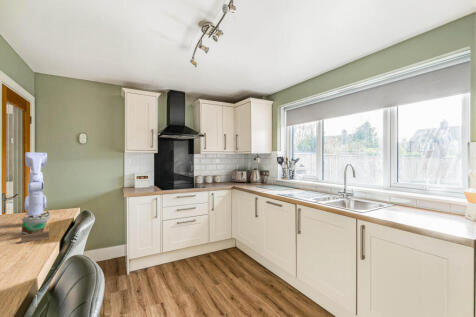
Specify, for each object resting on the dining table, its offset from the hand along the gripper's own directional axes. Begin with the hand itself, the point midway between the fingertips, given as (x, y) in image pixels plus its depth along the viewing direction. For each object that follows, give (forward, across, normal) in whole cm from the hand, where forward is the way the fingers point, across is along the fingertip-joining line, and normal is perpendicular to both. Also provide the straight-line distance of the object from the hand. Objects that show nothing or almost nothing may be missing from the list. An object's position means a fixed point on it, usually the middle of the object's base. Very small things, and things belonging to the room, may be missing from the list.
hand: (35, 228), depth 122 cm
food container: (+2, +4, 0) cm, 5 cm away
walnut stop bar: (+2, +15, 0) cm, 15 cm away
